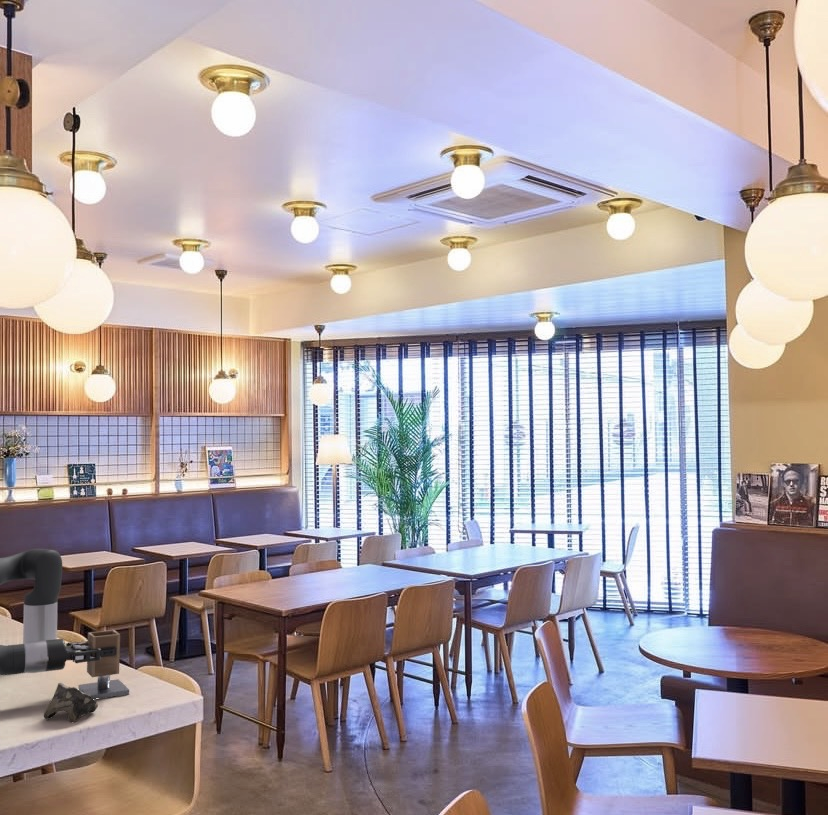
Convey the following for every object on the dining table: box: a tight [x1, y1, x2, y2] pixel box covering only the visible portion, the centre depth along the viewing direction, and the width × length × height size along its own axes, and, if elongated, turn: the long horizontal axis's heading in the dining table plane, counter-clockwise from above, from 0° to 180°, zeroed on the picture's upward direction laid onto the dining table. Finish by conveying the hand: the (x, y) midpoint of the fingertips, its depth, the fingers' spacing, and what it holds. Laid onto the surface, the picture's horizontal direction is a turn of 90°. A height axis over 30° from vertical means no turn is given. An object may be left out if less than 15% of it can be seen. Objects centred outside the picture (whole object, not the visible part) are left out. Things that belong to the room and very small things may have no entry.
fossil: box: [43, 682, 99, 723], centre depth 191 cm, size 11×9×10 cm
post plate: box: [78, 675, 130, 699], centre depth 212 cm, size 12×10×8 cm
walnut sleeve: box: [86, 629, 121, 678], centre depth 212 cm, size 7×7×10 cm
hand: (112, 648), depth 213 cm, fingers closed on walnut sleeve, 6 cm apart
